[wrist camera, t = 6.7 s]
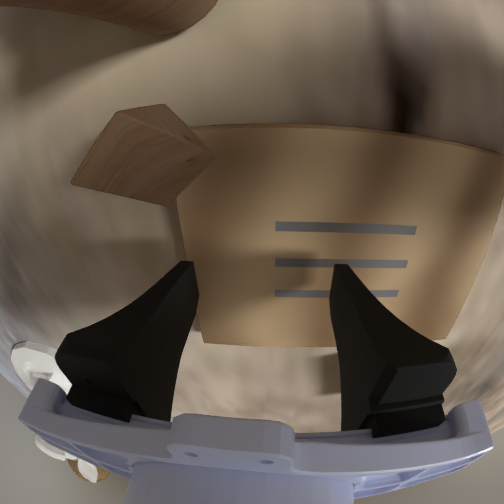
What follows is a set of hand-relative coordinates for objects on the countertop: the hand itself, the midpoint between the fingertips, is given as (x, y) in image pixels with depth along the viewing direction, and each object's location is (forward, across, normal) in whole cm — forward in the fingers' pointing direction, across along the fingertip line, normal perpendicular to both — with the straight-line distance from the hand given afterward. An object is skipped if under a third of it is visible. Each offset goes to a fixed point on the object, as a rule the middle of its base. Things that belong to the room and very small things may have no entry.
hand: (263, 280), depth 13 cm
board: (+3, -4, 0) cm, 5 cm away
